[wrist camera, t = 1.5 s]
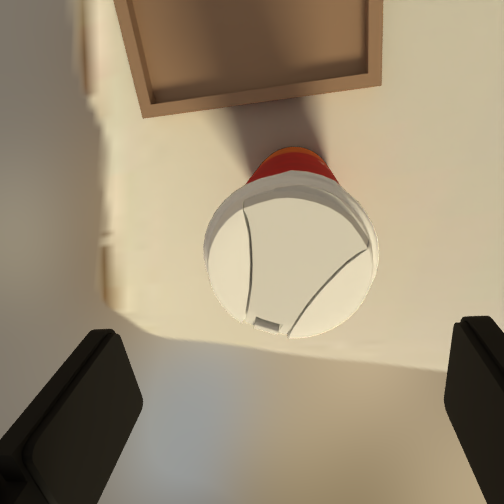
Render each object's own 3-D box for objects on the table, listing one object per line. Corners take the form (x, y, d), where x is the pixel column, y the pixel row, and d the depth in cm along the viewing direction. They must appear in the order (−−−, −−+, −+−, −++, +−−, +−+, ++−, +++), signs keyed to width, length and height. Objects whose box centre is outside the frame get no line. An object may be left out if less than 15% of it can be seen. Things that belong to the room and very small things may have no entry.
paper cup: (322, 242, 29) (339, 367, 16) (232, 213, 29) (180, 318, 16) (362, 148, 25) (424, 216, 13) (260, 114, 25) (221, 151, 13)
